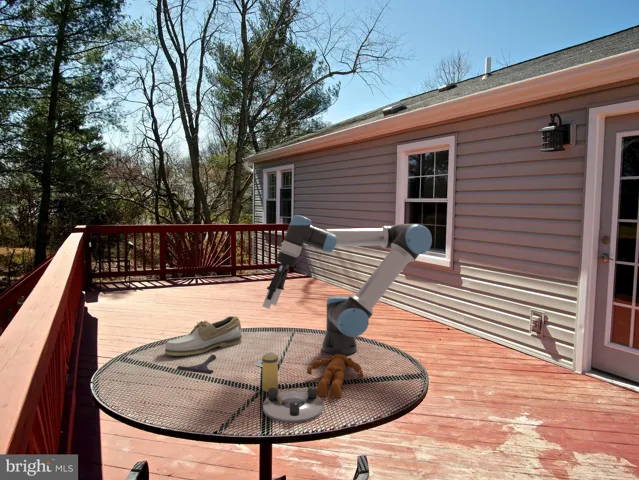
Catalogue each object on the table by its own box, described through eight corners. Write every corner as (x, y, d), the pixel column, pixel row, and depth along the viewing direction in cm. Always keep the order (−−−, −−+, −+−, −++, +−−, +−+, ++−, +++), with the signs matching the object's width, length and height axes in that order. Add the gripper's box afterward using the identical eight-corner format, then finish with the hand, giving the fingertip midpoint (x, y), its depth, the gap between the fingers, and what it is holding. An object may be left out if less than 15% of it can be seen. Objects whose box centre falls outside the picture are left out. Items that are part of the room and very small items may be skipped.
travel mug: (277, 385, 146) (277, 350, 145) (277, 391, 141) (278, 355, 140) (262, 386, 145) (262, 351, 144) (261, 392, 140) (262, 356, 139)
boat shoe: (157, 354, 177) (157, 325, 176) (229, 337, 203) (229, 311, 203) (174, 362, 168) (174, 331, 168) (246, 343, 194) (246, 316, 194)
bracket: (230, 362, 170) (230, 355, 170) (211, 375, 156) (211, 367, 156) (198, 358, 174) (198, 352, 174) (176, 371, 160) (176, 364, 160)
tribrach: (319, 394, 139) (319, 381, 138) (326, 421, 121) (326, 405, 121) (263, 396, 137) (263, 382, 136) (262, 423, 119) (262, 407, 119)
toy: (359, 404, 135) (367, 367, 164) (359, 383, 134) (367, 349, 164) (298, 398, 139) (316, 363, 168) (298, 378, 138) (316, 346, 167)
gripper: (284, 251, 177) (266, 299, 177) (274, 249, 153) (253, 305, 152) (301, 258, 177) (283, 306, 176) (293, 256, 152) (272, 312, 151)
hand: (269, 305), depth 164 cm, fingers open, 13 cm apart
